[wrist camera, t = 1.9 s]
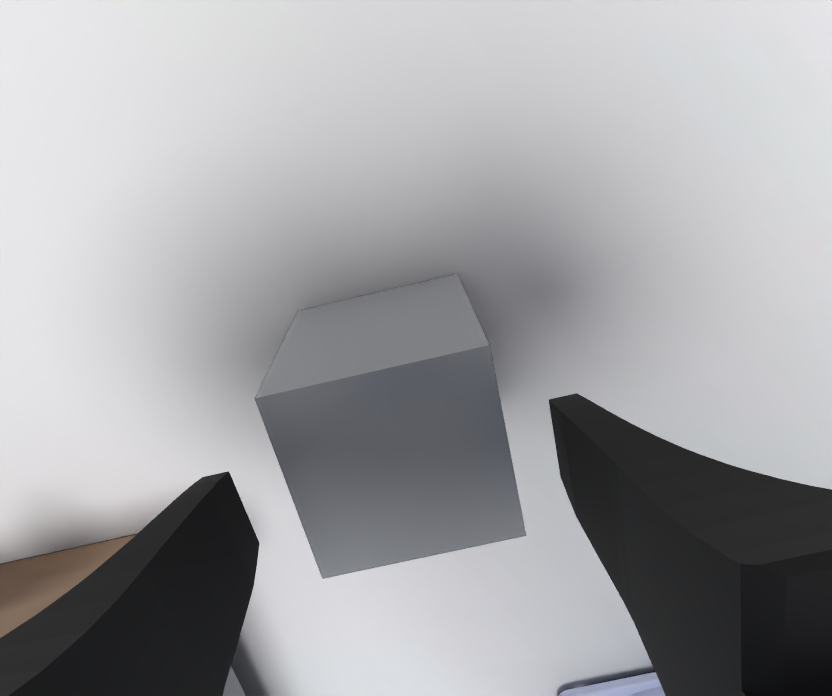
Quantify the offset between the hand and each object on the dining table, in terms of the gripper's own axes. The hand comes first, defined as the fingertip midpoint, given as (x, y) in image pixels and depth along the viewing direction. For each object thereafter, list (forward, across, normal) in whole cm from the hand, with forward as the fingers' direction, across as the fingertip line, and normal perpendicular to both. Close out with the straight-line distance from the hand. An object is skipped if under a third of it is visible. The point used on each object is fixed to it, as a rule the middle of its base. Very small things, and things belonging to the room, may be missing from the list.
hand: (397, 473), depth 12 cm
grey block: (+6, 0, 0) cm, 6 cm away
